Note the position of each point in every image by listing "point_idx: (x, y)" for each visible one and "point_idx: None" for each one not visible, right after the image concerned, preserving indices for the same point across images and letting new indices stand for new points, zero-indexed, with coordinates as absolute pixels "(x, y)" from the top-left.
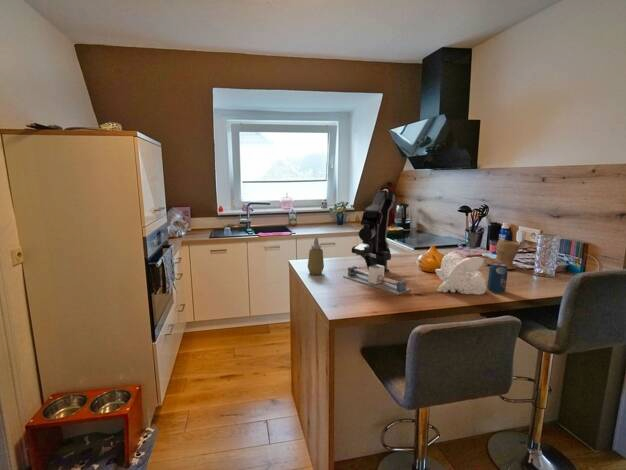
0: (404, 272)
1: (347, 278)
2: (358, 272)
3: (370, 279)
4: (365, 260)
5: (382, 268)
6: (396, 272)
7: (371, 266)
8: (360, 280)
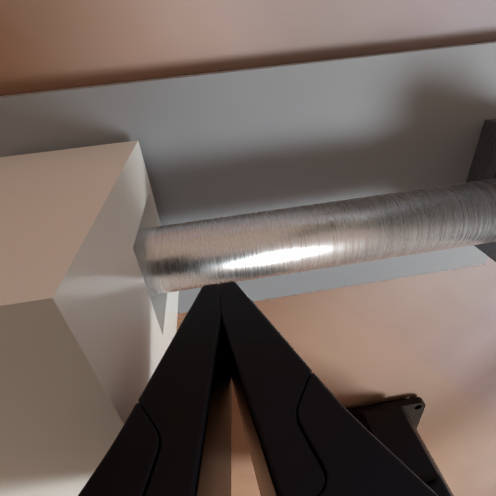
0: (243, 491)
1: (481, 42)
2: (409, 197)
3: (81, 161)
4: (383, 471)
5: None
6: None
7: (35, 361)
8: (271, 108)
